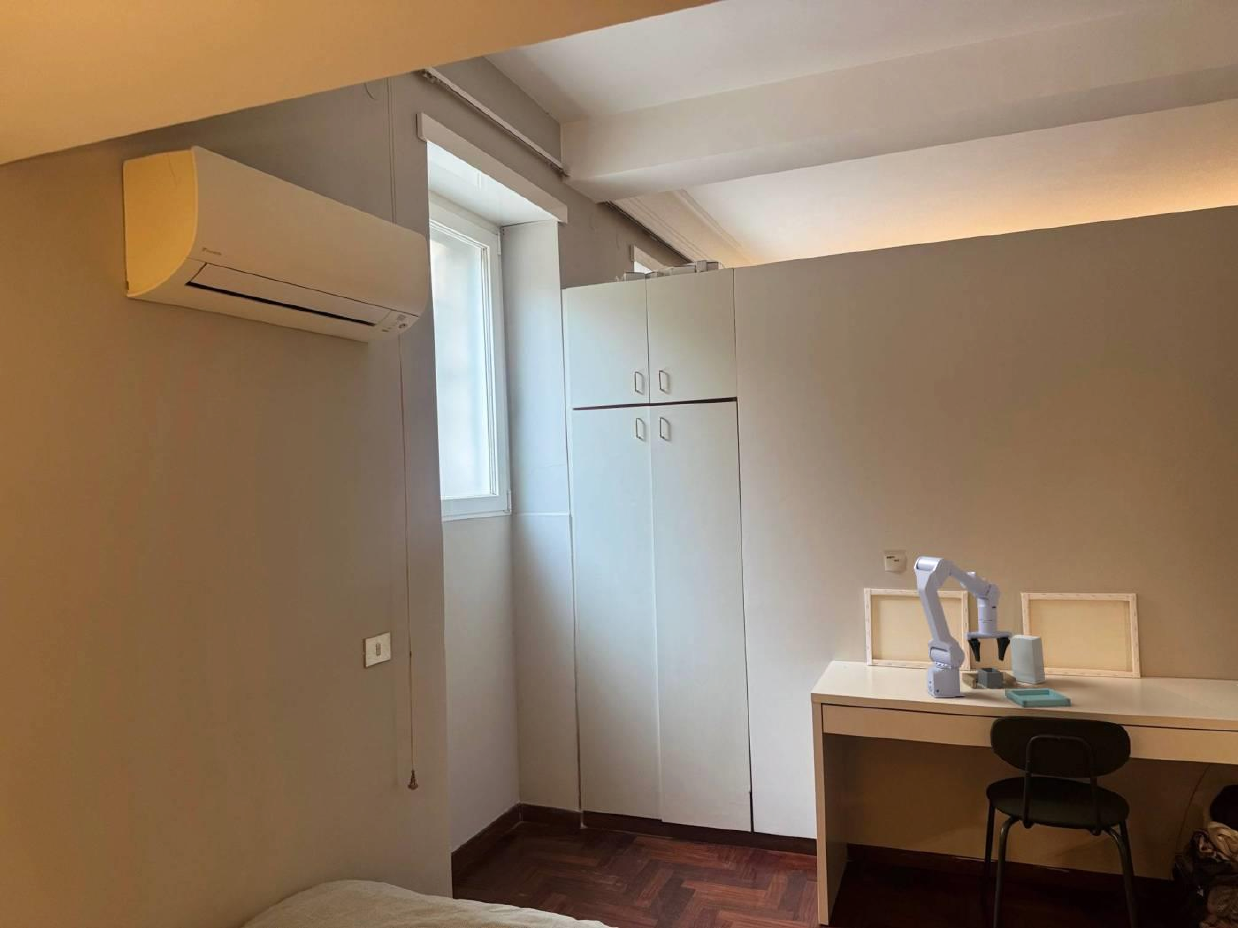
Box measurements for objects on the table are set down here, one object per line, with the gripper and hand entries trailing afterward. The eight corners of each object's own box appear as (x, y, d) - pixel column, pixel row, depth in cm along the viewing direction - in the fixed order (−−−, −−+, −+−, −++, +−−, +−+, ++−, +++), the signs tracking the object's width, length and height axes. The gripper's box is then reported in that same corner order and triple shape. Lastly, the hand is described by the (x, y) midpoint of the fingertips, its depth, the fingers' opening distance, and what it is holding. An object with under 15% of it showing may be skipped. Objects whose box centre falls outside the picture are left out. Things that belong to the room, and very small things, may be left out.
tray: (1023, 707, 247) (1023, 700, 247) (1005, 696, 259) (1004, 689, 259) (1070, 705, 247) (1070, 699, 247) (1050, 694, 259) (1050, 688, 259)
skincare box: (1045, 681, 273) (1043, 636, 273) (1035, 685, 270) (1033, 639, 270) (1021, 677, 280) (1019, 633, 280) (1011, 680, 277) (1009, 635, 277)
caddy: (987, 688, 268) (986, 672, 268) (978, 682, 275) (977, 667, 275) (1002, 687, 268) (1002, 672, 268) (993, 682, 275) (992, 667, 275)
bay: (972, 688, 269) (972, 679, 269) (962, 681, 277) (962, 672, 277) (1016, 687, 268) (1016, 677, 268) (1004, 680, 277) (1004, 671, 277)
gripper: (1004, 616, 276) (1006, 656, 276) (960, 617, 276) (962, 658, 276) (1014, 619, 269) (1016, 661, 269) (969, 621, 269) (971, 663, 269)
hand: (989, 660), depth 272 cm, fingers open, 7 cm apart
